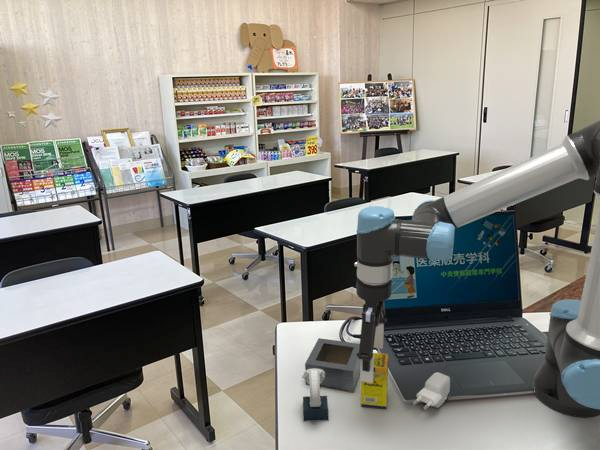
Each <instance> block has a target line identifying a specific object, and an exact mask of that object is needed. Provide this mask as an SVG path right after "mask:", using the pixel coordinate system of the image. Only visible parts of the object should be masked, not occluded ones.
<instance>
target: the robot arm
mask: <svg viewBox="0 0 600 450" xmlns="http://www.w3.org/2000/svg"><path fill="white" fill-rule="evenodd" d="M593 178H596V179H595V182H594V187H593V193H594V194H595V196H596V197H597V198H598V199H599V200H600V119H599V120H597V121H595V122H593V123H591V124H589V125H586V126H585V127H583V128H581V129H579V130H577V131H575V132H573V133H569V134H568V135H566V136H564V139H563V141H562V142H561V144H558V145H556V146H554V147H552V148H549V149H547V150H545V151H543V152H540V153H538V154H536V155H534V156H532V157H529V158H527V159H525V160H522V161H520V162H519V163H516V164H514V165H511V166H510V167H507V168H504V169H501V170H500V171H498V172H496V173H494V174H492V175H489V176H487V177H485V178H482V179H480V180H478V181H476V182H473V183H472V184H468V185H467V186H465V187H463V188H460V189H457V190H456V191H454V192H452V193H449V194H447V195H445V196H443V197H440V198H438V199H436V200H435V199H434V200H433V199H428V200H425V201H422V202H421V203H420V204H419V205H418V206H417V207H416V208H415V209H414V211H413V213H412V217H411V220H408V219H407V220H404V219H399V218H398V219H397V218H396V216H395V211H394V210H393V209H391V208H389V207H384V206H367V207H364V208H362V209H361V210H360V211H359V212H358V215H357V228H356V262H354V264H353V265H354V267H356V277H357V278H356V295H357V297H359V299H361V300H363V301H365V303H364V304H363V307H362V313H361V327H360V328H361V329H360V339H359V344H360V347H359V353H357V356H358V358H359V359H360V375H359V381H360V382H361V381H363V382H368V383H373V368H374V355H373V353H374V349H380V350H383V348H384V332H385V331H384V328H385V327H384V326H385V323H387V322H388V317H385V315H386V307H385V305H386V304H385V301H387V300H389V299H390V298H391V296H392V289H393V288H392V287H393V284H392V283H393V282H392V281H393V280H392V279H393V269H394V268H393V265H394V263H393V262H394V260H393V259H394V257H393V256H395V257H406V258H415V259H424V260H430V261H449V260H451V259H452V257H453V253H454V245H455V243H454V242H455V230H456V229H458V228H460V227H462V226H465V225H467V224H471V223H472V222H474V221H477V220H480V219H482V218H484V217H487V216H489V215H492V214H494V213H496V212H499V211H502V210H504V209H507V208H509V207H511V206H512V207H513V205H516V204H519V203H521V202H523V201H526V200H529V199H531V198H534V197H536V196H539V195H541V194H543V193H545V192H549V191H551V190H554V189H555V188H558V187H560V186H563V185H565V184H567V183H570V182H572V181H574V180H578V179H582V180H585V181H588V180H591V179H593ZM592 241H593V242H592V247H591V251H590V255H589V261H588V265H587V270H586V275H585V280H584V283H583V284H584V285H583V290H582V294H581V298H580V299H570V298H569V299H560V300H556V301H554V303H553V304H552V306H551V309H550V310H551V311H550V312H549V317H550V318H549V324H548V332H547V338H546V339H547V340H546V347H545V355H544V359H543V361H542V362H541V364H540V365H539V367H538V369H537V370H536V371H535V373H534V377H533V381H532V385H533V384H534V387H535V393H534V395H535V396H536V398H537V399H538V400H539V401H540V402H542V404H544V405H546V406H547V407H549V408H550V409H553V410H554V411H557V412H558V413H562V414H565V415H569V416H573V417H579V418H592V417H597V416H600V211H599V212H598V218H597V222H596V227H595V231H594V236H593V240H592Z"/></svg>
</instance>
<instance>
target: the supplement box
mask: <svg viewBox="0 0 600 450" xmlns="http://www.w3.org/2000/svg"><path fill="white" fill-rule="evenodd" d="M373 355H374V368H373V383H368V382H363V381H360V406H361V407H364V408H371V409H372V408H373V409H381V410H382V409H383V410H387V407H388V404H387V403H388V400H387V399H388V385H389V384H388V379H389V354H388V353H382V352H380V353H379V352H373Z"/></svg>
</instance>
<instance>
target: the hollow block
mask: <svg viewBox="0 0 600 450" xmlns="http://www.w3.org/2000/svg"><path fill="white" fill-rule="evenodd" d="M359 347H360V343H357V342H349V341H343V340H342V341H341V340H335V339H328V338H321V337H320V338H318V339H317V341H316V342H315V345H314V346H313V349H312V350H311V352H310V354H309V356H308V357H307V360H306V361H305V363H304V369H305V370H304V371H306V370H308V369H321V370H323V371H324V372H325V378H324V380H323V381H322V383H321V384H320V388H324V389H331V390H335V391H342V392H348V393H354V392H355V389H356V387H357V384H358V381H359V379H360V359H359V358H358V356H357V353H359ZM305 385H307V386H310V385H309V384H308V383H307V382H306V381H305Z"/></svg>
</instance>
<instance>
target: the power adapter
mask: <svg viewBox="0 0 600 450" xmlns="http://www.w3.org/2000/svg"><path fill="white" fill-rule="evenodd" d="M450 390H451V378H450V376H449V375H446V374H443V373H441V372H439V371H437V372H434V373H433V374H431V376H430V377H428V379H427V380H426V381H425V383H424V387H423V388H421V389H420V391H418V392H417V393H416V399H415V400H414V401H413V402H412V404H413V405H414V406H415V405H417V404H418V403H419V402H422V403H425V405H424V406H423V408H422V409H423V410H424V411H426V410H427V409H428V408H429V407H434V408H436V409H437V408H440V407H441V406H443V404H444V403H445V402H446V401H445V397H446V396H447V395H448V393H449V392H450ZM449 394H450V393H449Z"/></svg>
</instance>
